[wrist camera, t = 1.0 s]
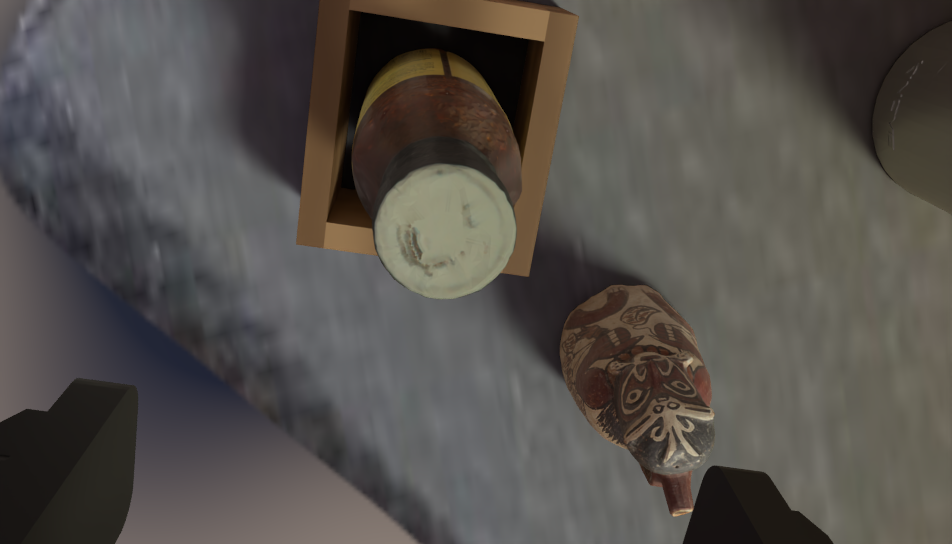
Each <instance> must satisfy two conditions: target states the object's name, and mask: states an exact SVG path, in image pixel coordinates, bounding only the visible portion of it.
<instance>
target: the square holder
mask: <svg viewBox="0 0 952 544" xmlns="http://www.w3.org/2000/svg"><path fill="white" fill-rule="evenodd" d="M361 12H367V13H373V14H379V15H385V16H391V17H397V18H403V19H410V20H416V21H422V22H428V23H434V24H440V25H446V26H452V27H458V28H464V29H471V30H477V31H483V32H489V33H495V34H501V35H507V36H513V37H519V38H526V39H529V41H528V47H527V53H526V58H525V64H524V70H523V76H522V81H521V87H520V93H519V98H518V104H517V110H516V115H515V121H514V127H513V134H514V136H515V138H516V141H517V144H518V146H519V151H520V157H521V176H522V192H521V195H520V198H519V199H518V201H517V202H516V203H515V205H514V206H513V207H514V212H515V216H516V224H517V236H516V243H515V248H514V251H513V253H512V255H511V256H510V258H509V261H508V263H507V265H506V266H505V268H504V269H503V270H502V271H501V273H505V274H513V275H520V276H527V277H529V272H530V267H531V262H532V257H533V252H534V246H535V241H536V236H537V231H538V226H539V221H540V215H541V210H542V205H543V200H544V195H545V189H546V184H547V179H548V174H549V169H550V164H551V158H552V153H553V148H554V143H555V138H556V133H557V127H558V122H559V117H560V112H561V107H562V101H563V96H564V91H565V86H566V81H567V76H568V70H569V65H570V60H571V55H572V50H573V44H574V39H575V34H576V29H577V24H578V19H579V16H577V15H575V14H573V13H571V12H569V11H567V10H564V9H562V8H560V7H554V6H548V5H542V4H536V3H530V2H524V1H518V0H320V1H319V12H318V22H317V33H316V43H315V53H314V64H313V74H312V85H311V95H310V105H309V116H308V126H307V137H306V147H305V157H304V168H303V178H302V189H301V199H300V209H299V220H298V230H297V241H296V244H297V245H304V246H312V247H319V248H326V249H333V250H340V251H347V252H355V253H362V254H369V255H376V256H378V254H377V252H376V250H375V246H374V239H373V231H372V219H371V218H370V216H369V215H368V213H367V212H366V210H365V209H364V207H363V205H362V203H361V201H360V199H359V196H358V193H357V190H355V189H348V188H341V185H342V176H343V168H344V159H345V150H346V141H347V132H348V123H349V114H350V105H351V96H352V87H353V78H354V69H355V60H356V51H357V42H358V33H359V25H360V16H361Z"/></svg>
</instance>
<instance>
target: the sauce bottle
mask: <svg viewBox="0 0 952 544" xmlns="http://www.w3.org/2000/svg"><path fill="white" fill-rule="evenodd" d="M352 172H353V178H354V183H355V187H356V190H357V193H358V196H359V199H360V201H361V203H362V205H363V207H364V209H365V210H366V212H367V213H368V215H369V216H370V218H371V219H372V231H373V239H374V246H375V250H376V252H377V254H378V256H379V258H380V260H381V262H382V264H383V266H384V267H385V268H386V270H387V271H388V272H389V273H390V275H391V276H392V277H393V279H394V280H396V281H397V282H398V283H400V284H401V285H402V286H404V287H406V288H407V289H409V290H410V291H413V292H415V293H418V294H420V295H422V296H424V297H427V298H435V299H455V298H458V297H462V296H466V295H468V294H471V293H474V292H477V291H480V290H481V289H482V288H484V287H485V286H487V285H488V284H489V283H490V282H491V281H493V280H494V279H495V278H496V277H497V276H498V275H499V274H500V273H501V271H502V270H503V269H504V268H505V266H506V265H507V263H508V261H509V258H510V256H511V255H512V253H513V251H514V248H515V243H516V236H517V224H516V216H515V212H514V207H513V206H514V205H515V203H516V202H517V201H518V199H519V198H520V195H521V192H522V176H521V157H520V151H519V146H518V144H517V141H516V138H515V136H514V134H513V130H512V128H511V125H510V122H509V120H508V118H507V116H506V114H505V113H504V111H503V109H502V108H501V106H500V105H499V103H498V101H497V100H496V98H495V96H494V94H493V92H492V91H491V89H490V87H489V86H488V84H487V83H486V81H485V79H484V78H483V77H482V75H481V74H480V73H479V72H478V71H477V69H476V68H475V67H473V66H472V65H471V64H470V63H469V62H467V61H466V60H464V59H463V58H461V57H460V56H458V55H456V54H453V53H451V52H446V51H444V50H441V49H436V48H427V49H419V50H414V51H410V52H406V53H404V54H401V55H399V56H396V57H395V58H393V59H392V60H391V61H389V62H388V63H387V64H386V65H385V66H384V67H383V68H382V69H381V70H380V71H379V72H378V73H377V74H376V76H375V77H374V78H373V80H372V82H371V83H370V85H369V87H368V89H367V92H366V96H365V99H364V102H363V106H362V109H361V112H360V116H359V120H358V123H357V128H356V132H355V136H354V141H353V146H352Z"/></svg>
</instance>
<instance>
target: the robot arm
mask: <svg viewBox="0 0 952 544" xmlns="http://www.w3.org/2000/svg"><path fill="white" fill-rule="evenodd" d="M873 140H874V145H875V149H876V153H877V156H878V158H879V160H880V162H881V164H882V166H883V168H884V170H885V171H886V172H887V173H888V175H889V176H890V177H891V178H892V179H893V180H894V182H895V183H896V184H898V185H899V186H901V187H902V188H904V189H905V190H906V191H908V192H909V193H911V194H913V195H915V196H917V197H919V198H921V199H923V200H925V201H927V202H929V203H931V204H932V205H934V206H936V207H938V208H940V209H942V210H944V211H946V212H948V213H949V214H951V215H952V21H950V22H947V23H945V24H943V25H941V26H939V27H937V28H935V29H933V30H931V31H929V32H928V33H926V34H925V35H924V36H922V37H921V38H920V39H918V40H917V41H915V42H914V43H913V44H912V45H911V46H910V47H909V48H908V49H907V50H906V51H905V52H904V53H903V54H902V55H901V56H900V57H899V58H898V59H897V61H896V62H895V64H894V65H893V67H892V68H891V70H890V71H889V73H888V74H887V76H886V77H885V79H884V82H883V84H882V86H881V89H880V91H879V93H878V96H877V99H876V104H875V108H874V113H873ZM137 414H138V392H137V388H136V387H135V386H134V385H127V384H119V383H112V382H105V381H97V380H89V379H82V378H77V379H75V380H74V381H73V382H72V383H71V384H70V385H69V387H68V388H67V389H66V390H65V391H64V392H63V394H62V395H61V396H60V397H59V398H58V400H57V401H56V402H55V403H54V404H53V406H52V407H51V408H50V409H49V411H48V412H46V411H39V410H31V409H26V410H24V411H22V412H20V413H18V414H16V415H14V416H12V417H10V418H8V419H6V420H4V421H2V422H0V544H115V542H116V540H117V539H118V537H119V535H120V533H121V531H122V528H123V526H124V523H125V521H126V517H127V514H128V511H129V507H130V502H131V497H132V491H133V479H134V464H135V446H136V431H137ZM683 544H833V542H832V541H831V539H830V538H829V536H828V535H826V534H825V533H824V532H823V531H822V530H820V529H819V528H818V527H817V526H816V525H814V524H813V523H812V522H811V521H810V520H809V519H807V518H806V517H805V516H804V515H803V514H801V513H800V512H799V511H792V510H791V509H790V508H789V506H788V505H787V503H786V501H785V500H784V498H783V497H782V495H781V494H780V492H779V491H778V489H777V488H776V486H775V485H774V483H773V481H772V480H771V478H770V477H769V476H768V475H767V474H766V473H764V472H760V471H752V470H745V469H737V468H730V467H723V466H712V467H710V468H709V469H708V470H707V472H706V473H705V475H704V477H703V480H702V483H701V486H700V490H699V493H698V496H697V499H696V502H695V506H694V509H693V512H692V515H691V518H690V522H689V525H688V528H687V531H686V535H685V538H684V541H683Z"/></svg>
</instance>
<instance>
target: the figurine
mask: <svg viewBox="0 0 952 544" xmlns="http://www.w3.org/2000/svg"><path fill="white" fill-rule="evenodd" d="M560 359H561V365H562V371H563V375H564V378H565V382H566V385H567V388H568V390H569V391H570V393H571V395H572V397H573V399H574V400H575V402H576V404H577V406H578V407H579V409H580V410H581V412H582V413H583V415H584V416H585V418H586V419H587V420H588V422H589V423H590V425H591V426H592V427H593V428H594V429H595V430H596V431H597V432H598V433H599V434H600V435H601V436H602V437H604V438H605V439H607V440H608V441H610V442H612V443H614V444H616V445H618V446H620V447H623V448H625V449H628V450H629V451H630V453H631V454H632V455H633V456H634V458H635V459H636V460H637V461H638V462H639V464H640V466H641V469H642V471H643V473H644V475H645V477H646V479H647V481H648V483H649V484H650V485H652V486H658V487H663V490H664V494H665V497H666V501H667V504H668V508H669V511H670V514H671V515H672V516H679V515H683V514H686V513H689V512H692V510H693V509H694V506H693V500H692V494H691V489H690V483H691V474H692V470H694V469H696V468H698V467H700V466H701V465H703V464H704V463H705V462H706V461H707V459H708V458H709V455H710V453H711V451H712V448H713V446H714V439H715V431H714V419H713V418H714V414H715V413H714V412H713V410H712V408H710V407H709V406H710V402H711V398H712V392H711V382H710V376H709V373H708V371H707V369H706V367H705V365H704V362H703V359H702V357H701V354H700V352H699V350H698V347H697V341H696V338H695V335H694V332H693V329H692V328H691V327H690V325H689V324H688V323H687V322H686V321H685V320H684V319H683V318H682V317H681V316H680V315H679V314H678V312H677V311H676V310H675V309H673V308H672V307H671V306H670V305H669V304H668V303H667V302H666V301H665V300H664V299H663V297H662V296H661V294H660V293H658V292H657V291H655V290H653V289H652V288H650V287H648V286H647V285H637V286H626V285H611V286H609V287H608V288H606V289H605V290H603V291H602V292H600V293H598V294H597V295H594V296H592V297H590V298H589V299H588V300H587V301H586V302H584V303H583V304H580V305H579V306H578V307H577V308H576V309H575V310H573V311H572V312H570V314H569V316H568V318H567V320H566V322H565V324H564V327H563V332H562V336H561V343H560Z"/></svg>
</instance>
